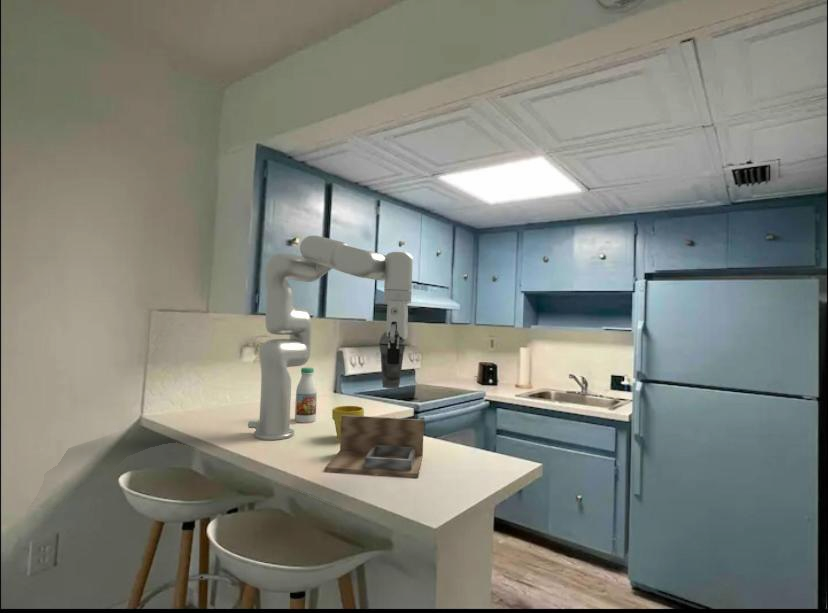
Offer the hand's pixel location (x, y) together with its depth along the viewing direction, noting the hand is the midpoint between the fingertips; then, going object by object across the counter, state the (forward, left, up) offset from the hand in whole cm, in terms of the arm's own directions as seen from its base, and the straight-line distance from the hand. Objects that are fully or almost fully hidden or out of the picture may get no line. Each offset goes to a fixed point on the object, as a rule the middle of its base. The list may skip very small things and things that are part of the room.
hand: (395, 362), depth 121 cm
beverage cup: (-1, 0, -7) cm, 7 cm away
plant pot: (-18, +24, -28) cm, 41 cm away
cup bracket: (-4, 0, -28) cm, 28 cm away
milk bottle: (-39, +44, -28) cm, 65 cm away
